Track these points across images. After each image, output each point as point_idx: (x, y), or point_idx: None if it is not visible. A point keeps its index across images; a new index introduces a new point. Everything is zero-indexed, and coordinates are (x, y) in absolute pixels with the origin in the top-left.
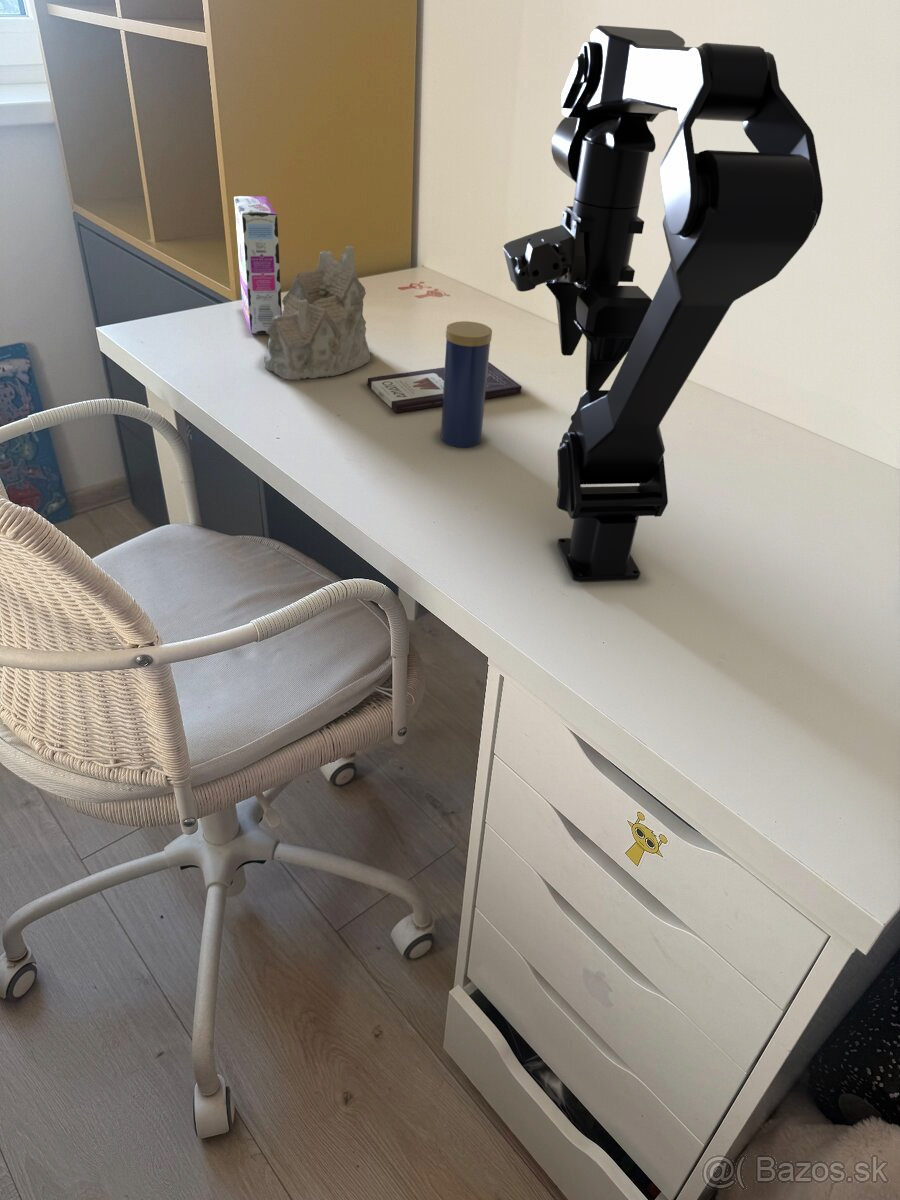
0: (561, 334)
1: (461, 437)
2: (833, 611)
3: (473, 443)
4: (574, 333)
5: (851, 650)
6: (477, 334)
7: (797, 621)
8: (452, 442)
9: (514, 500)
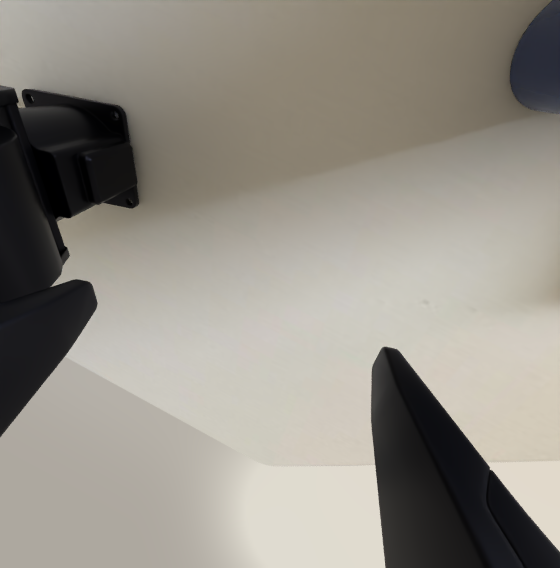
0: (409, 405)
1: (539, 27)
2: None
3: (513, 73)
4: (386, 440)
5: None
6: None
7: None
8: (553, 4)
9: (263, 85)
